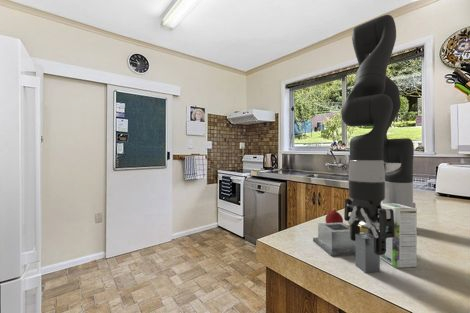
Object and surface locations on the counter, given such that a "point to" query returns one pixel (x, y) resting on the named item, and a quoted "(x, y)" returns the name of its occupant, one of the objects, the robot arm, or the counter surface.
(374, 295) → the counter surface
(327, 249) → the bracket stand
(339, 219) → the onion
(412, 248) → the syrup box
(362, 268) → the grey rectangular block
